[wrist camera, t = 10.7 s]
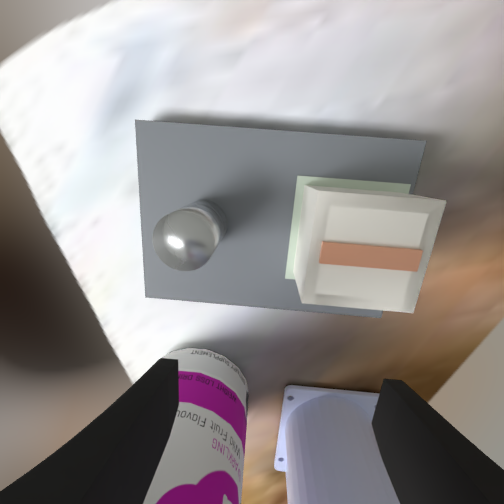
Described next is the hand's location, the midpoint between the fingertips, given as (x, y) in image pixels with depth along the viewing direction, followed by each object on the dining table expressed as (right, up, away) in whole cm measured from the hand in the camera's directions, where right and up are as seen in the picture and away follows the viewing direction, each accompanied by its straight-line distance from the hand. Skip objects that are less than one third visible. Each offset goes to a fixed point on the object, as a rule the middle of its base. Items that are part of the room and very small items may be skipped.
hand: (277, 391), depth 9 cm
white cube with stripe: (+5, +6, +7) cm, 10 cm away
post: (-4, +7, +7) cm, 10 cm away
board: (0, +7, +8) cm, 11 cm away
